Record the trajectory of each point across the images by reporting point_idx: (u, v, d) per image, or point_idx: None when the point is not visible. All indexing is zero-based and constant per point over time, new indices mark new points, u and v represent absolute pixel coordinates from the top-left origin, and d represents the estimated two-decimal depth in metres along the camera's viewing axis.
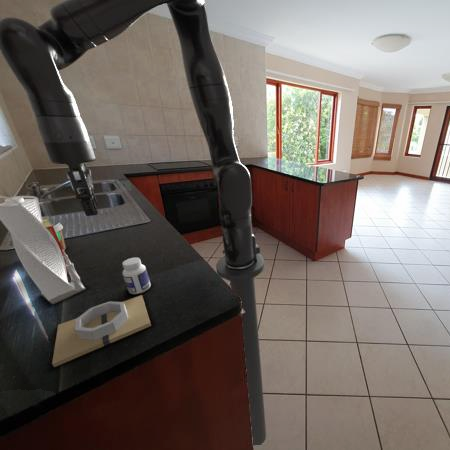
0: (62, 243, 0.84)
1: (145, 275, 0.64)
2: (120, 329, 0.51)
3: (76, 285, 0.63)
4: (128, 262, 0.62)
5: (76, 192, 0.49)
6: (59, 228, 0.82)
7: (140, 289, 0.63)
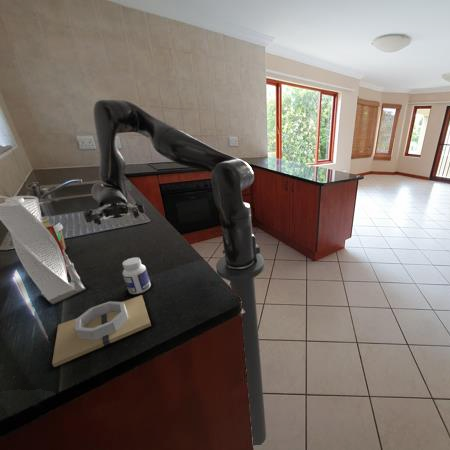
0: (62, 243, 0.84)
1: (145, 275, 0.64)
2: (120, 329, 0.51)
3: (76, 285, 0.63)
4: (128, 261, 0.62)
5: None
6: (59, 228, 0.82)
7: (140, 289, 0.63)
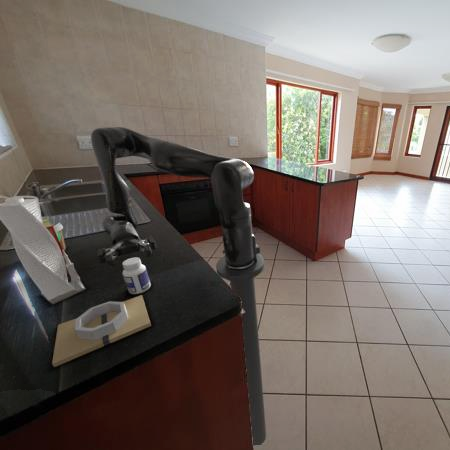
0: (62, 243, 0.84)
1: (145, 275, 0.64)
2: (120, 329, 0.51)
3: (76, 285, 0.63)
4: (128, 262, 0.62)
5: None
6: (59, 228, 0.82)
7: (140, 289, 0.63)
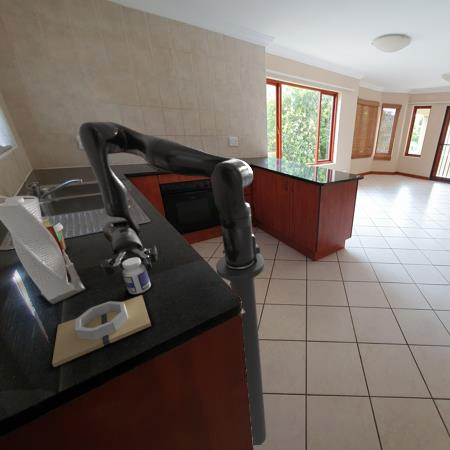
0: (62, 243, 0.84)
1: (145, 275, 0.64)
2: (120, 329, 0.51)
3: (76, 285, 0.63)
4: (128, 262, 0.62)
5: (105, 272, 0.62)
6: (59, 228, 0.82)
7: (140, 289, 0.63)
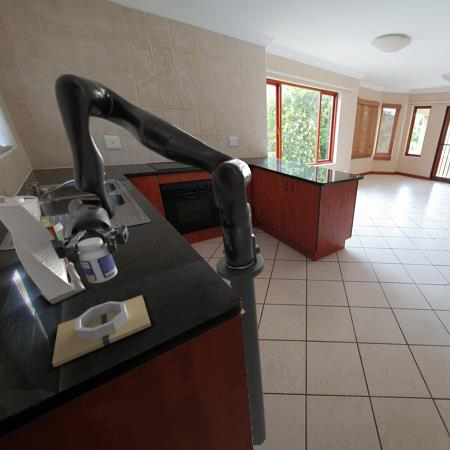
0: None
1: (108, 259, 0.51)
2: (120, 329, 0.51)
3: (76, 285, 0.63)
4: (85, 242, 0.49)
5: None
6: (59, 228, 0.82)
7: (102, 277, 0.51)
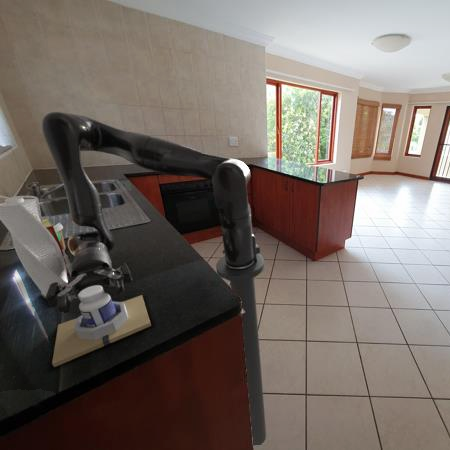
0: (62, 243, 0.84)
1: (109, 307, 0.51)
2: (120, 329, 0.51)
3: None
4: (86, 292, 0.49)
5: None
6: (59, 228, 0.82)
7: None
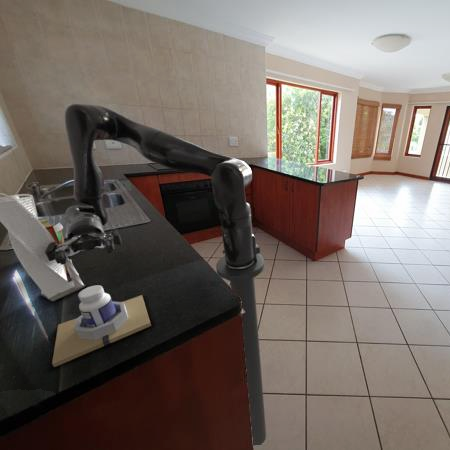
0: None
1: (109, 307, 0.51)
2: (120, 329, 0.51)
3: (75, 282, 0.63)
4: (86, 292, 0.49)
5: None
6: (59, 228, 0.82)
7: None
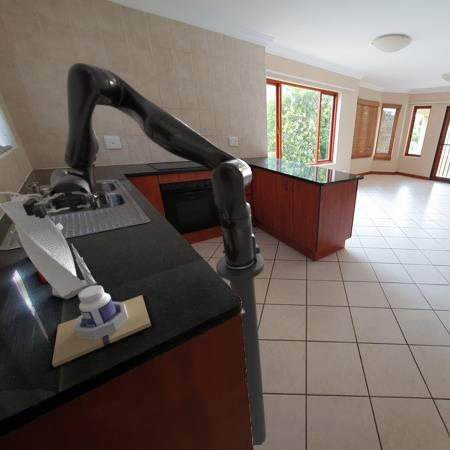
0: None
1: (109, 307, 0.51)
2: (120, 329, 0.51)
3: (88, 280, 0.64)
4: (86, 292, 0.49)
5: None
6: (59, 228, 0.82)
7: None
